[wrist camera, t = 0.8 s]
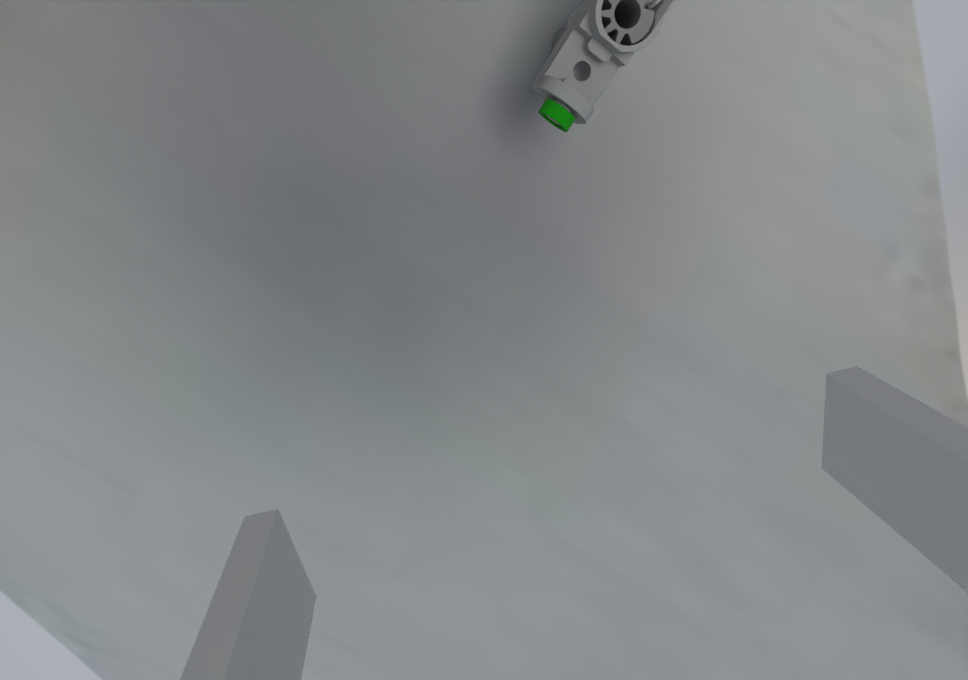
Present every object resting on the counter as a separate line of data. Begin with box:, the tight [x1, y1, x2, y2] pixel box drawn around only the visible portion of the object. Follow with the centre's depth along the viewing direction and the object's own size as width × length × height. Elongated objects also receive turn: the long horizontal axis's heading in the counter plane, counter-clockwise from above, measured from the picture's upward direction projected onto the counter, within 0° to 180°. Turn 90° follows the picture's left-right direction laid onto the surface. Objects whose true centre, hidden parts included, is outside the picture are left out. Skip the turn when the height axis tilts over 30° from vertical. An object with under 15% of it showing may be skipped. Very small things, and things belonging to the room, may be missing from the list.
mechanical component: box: [531, 0, 676, 132], centre depth 28 cm, size 3×10×10 cm, turn 146°
